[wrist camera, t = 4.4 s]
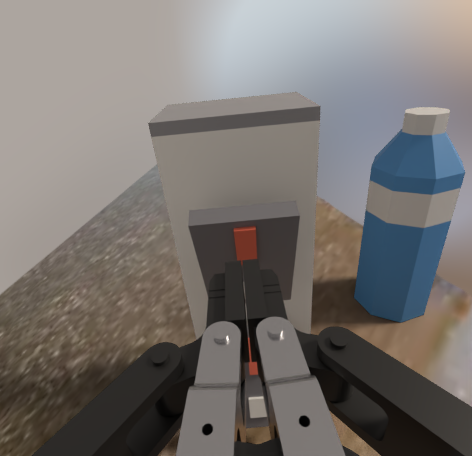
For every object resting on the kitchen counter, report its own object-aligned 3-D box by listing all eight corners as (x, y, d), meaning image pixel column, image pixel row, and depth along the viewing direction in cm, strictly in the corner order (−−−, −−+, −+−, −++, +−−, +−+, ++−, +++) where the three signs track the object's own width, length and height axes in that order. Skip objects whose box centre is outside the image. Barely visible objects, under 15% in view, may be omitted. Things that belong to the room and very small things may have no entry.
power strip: (202, 342, 40) (152, 104, 25) (303, 334, 39) (310, 88, 25) (196, 424, 31) (114, 131, 17) (326, 413, 31) (356, 107, 16)
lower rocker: (227, 418, 28) (216, 327, 26) (294, 412, 28) (288, 320, 26) (227, 432, 26) (215, 336, 25) (297, 426, 26) (291, 330, 24)
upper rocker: (210, 292, 24) (189, 210, 17) (287, 285, 24) (295, 200, 17) (210, 309, 23) (187, 229, 16) (291, 302, 23) (301, 218, 16)
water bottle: (438, 296, 43) (498, 105, 31) (406, 334, 38) (462, 124, 26) (374, 268, 49) (402, 101, 37) (340, 297, 44) (359, 115, 32)
